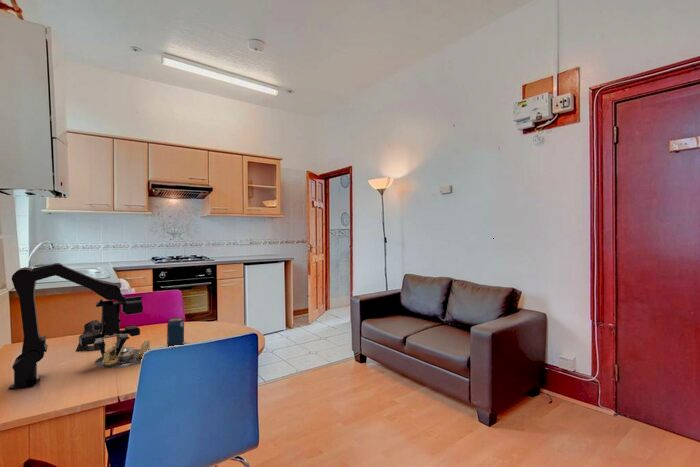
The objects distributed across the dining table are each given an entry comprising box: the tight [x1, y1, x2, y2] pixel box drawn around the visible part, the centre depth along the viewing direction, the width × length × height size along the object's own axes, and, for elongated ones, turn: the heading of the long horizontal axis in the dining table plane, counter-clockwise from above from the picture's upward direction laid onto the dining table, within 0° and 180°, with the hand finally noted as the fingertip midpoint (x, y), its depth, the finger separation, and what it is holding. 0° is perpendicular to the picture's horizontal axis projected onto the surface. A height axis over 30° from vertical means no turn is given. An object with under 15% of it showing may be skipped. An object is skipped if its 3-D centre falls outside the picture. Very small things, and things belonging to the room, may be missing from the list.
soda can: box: [166, 317, 185, 347], centre depth 161 cm, size 7×7×12 cm
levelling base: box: [94, 340, 151, 369], centre depth 141 cm, size 20×20×7 cm
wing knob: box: [102, 344, 118, 367], centre depth 134 cm, size 7×5×6 cm
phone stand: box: [75, 319, 106, 352], centre depth 154 cm, size 9×6×12 cm, turn 103°
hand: (110, 357), depth 134 cm, fingers closed on wing knob, 4 cm apart
